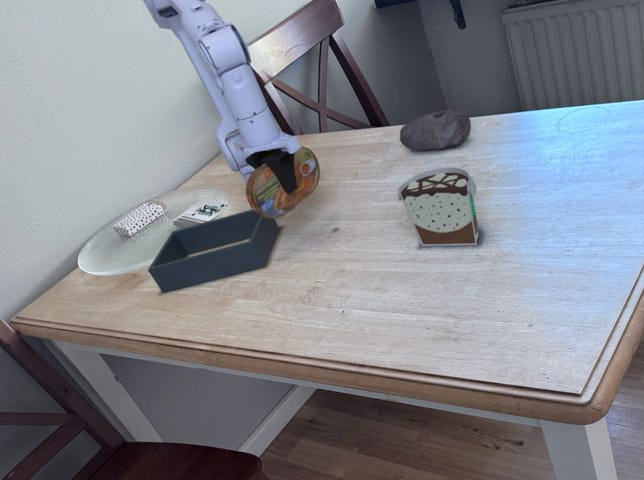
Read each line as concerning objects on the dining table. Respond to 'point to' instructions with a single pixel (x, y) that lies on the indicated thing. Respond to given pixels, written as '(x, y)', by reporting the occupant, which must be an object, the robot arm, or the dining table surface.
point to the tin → (270, 194)
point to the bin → (182, 272)
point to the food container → (442, 207)
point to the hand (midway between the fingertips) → (286, 190)
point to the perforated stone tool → (436, 130)
